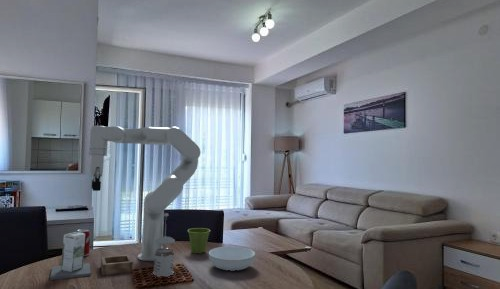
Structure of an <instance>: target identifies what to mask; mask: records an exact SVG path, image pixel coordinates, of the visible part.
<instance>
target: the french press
mask: <svg viewBox="0 0 500 289" xmlns="http://www.w3.org/2000/svg"><path fill="white" fill-rule="evenodd" d="M164 217H165V219H167V217H169V213H168V212H164ZM166 233H167V225H165V228H164V235H163V237H160V238H158V239H156V240H155V242H157V243H159V246H160V244H162V246H163V248H160V249H157V250H156V252H157V253H155V258H154V261H153V271H152V273H153V274H154V275H157V276H170V275H172V274H173V273H174V272H175V271H174V258H175V257H174V255H175V253H174V249H173V248H172V249H171V247H170V248H169V247H166V245H168V244H173V243H175V241H176V239H174V238H173V237H171V236H167V234H166ZM161 253H162V254H163V257H161ZM155 260H156V261H155Z"/></svg>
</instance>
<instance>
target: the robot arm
mask: <svg viewBox="0 0 500 289" xmlns="http://www.w3.org/2000/svg"><path fill="white" fill-rule="evenodd" d="M89 132H90V134H89V147H88V148H89V151H88V153H89V154H88V155H89V156H91V157H90V163H89V165H90V167H89V177H91V178H92V179H91V189H92V191H93V192H98V191H99V192H100V191H101V187H102V186H101V184H102V181H101V180H102V177H103V171H104V162H105V160H104V159H105V157H107V156H108V142H112V143H115V144H133V145H134V144H138V145H155V146H157V145H158V146H172V147H173V148H174V149H175V150H176V151H177V152H178V153H179V154H180V156H181V162H180V163H179V165H177V166H176V167H175V169H174V170H172V172H171V173H169V175H167V176H166V177H165V178H163V180H162V181H161V184H160V185H159V186H158V187H157V188H156V189H154V190H153V191H149V192H148V193H147V194H146V195H145V196H144V199H143V220H142V234H141V235H142V238H141V253H139V254H138V255H137V259H138V260H140V261H144V262H154V258H155V253H157V252H156V250H157V249H160V248H164V246H163V244H160V246H159V243H157V242H155V240H156V239H158V238H160V237H164V224H165V223H164V220H165V216H164V214H165V210H166V209H167V208H168V207H169V206H170V205H171V203H173V202H174V201H175V200H176V199H177V198H178V197H179V195H181V193H182V191H183V189H184V185H185V184H186V183H188V181H189V180H190V179H191V177H193V175H194V174H195V173H196V171H197V169H198V165H199V158H200V156H201V148H200V147H199V146H198V144H197V143H196V142H194V140H193V139H192V138H191V137H189V136H188V135H187V133H186V132H185V131H183V130H182V129H181V128H180V127H177V126H171V127H157V126H156V127H155V126H146V127H139V128H124V127H121V126H118V125H115V126H104V125H91V127H90V131H89ZM170 248H171V247H170ZM171 249H173V248H171ZM161 257H163V254H162V253H161ZM155 261H156V260H155Z"/></svg>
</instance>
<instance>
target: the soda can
mask: <svg viewBox="0 0 500 289" xmlns="http://www.w3.org/2000/svg"><path fill="white" fill-rule="evenodd" d="M76 232H80V233H84V234H85V245H84V257H88V255H90V248H91V234H92V233H91V231H90V229H89V228H88V229H87V228H81V229H77V230H76ZM84 257H83V258H84Z"/></svg>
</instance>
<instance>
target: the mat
mask: <svg viewBox="0 0 500 289" xmlns="http://www.w3.org/2000/svg"><path fill="white" fill-rule="evenodd" d="M90 264H91V263H90V262H87V263H85V262H84V263H83V268H81V269H79V270H76V271H73V272H69V271H63V270H61V265H55V266H52V267H51V271H50V276H49V281H55V280H56V281H57V280H64V279H72V278H74V279H75V278H80V277H81V278H82V277H90V276H91V275H92V272H91V265H90Z"/></svg>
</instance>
